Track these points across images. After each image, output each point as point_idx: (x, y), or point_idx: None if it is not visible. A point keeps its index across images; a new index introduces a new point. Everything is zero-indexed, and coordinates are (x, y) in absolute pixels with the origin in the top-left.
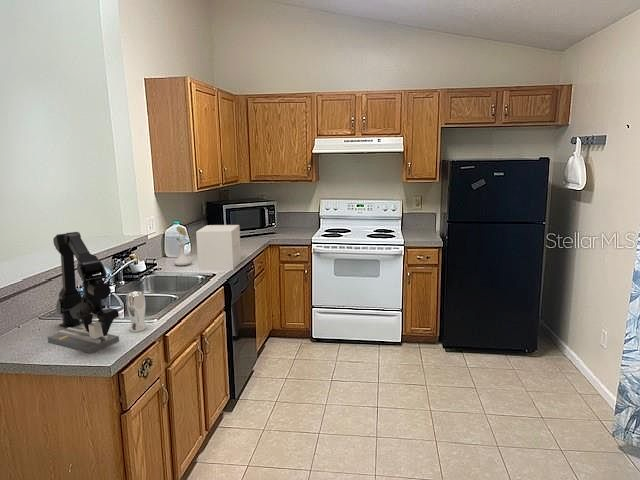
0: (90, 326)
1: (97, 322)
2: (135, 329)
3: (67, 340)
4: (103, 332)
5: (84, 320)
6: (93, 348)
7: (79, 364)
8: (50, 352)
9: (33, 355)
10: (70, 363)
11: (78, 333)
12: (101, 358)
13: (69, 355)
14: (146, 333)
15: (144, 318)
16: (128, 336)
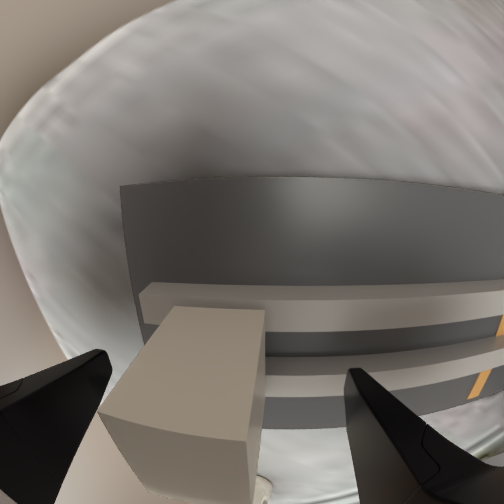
0: (193, 417)
1: (210, 496)
2: None
3: (477, 217)
4: (67, 362)
5: (412, 486)
6: (129, 211)
7: (84, 56)
8: (450, 76)
9: (477, 28)
10: (141, 24)
11: (478, 342)
12: (45, 175)
13: (273, 75)
14: None
15: None
16: None
